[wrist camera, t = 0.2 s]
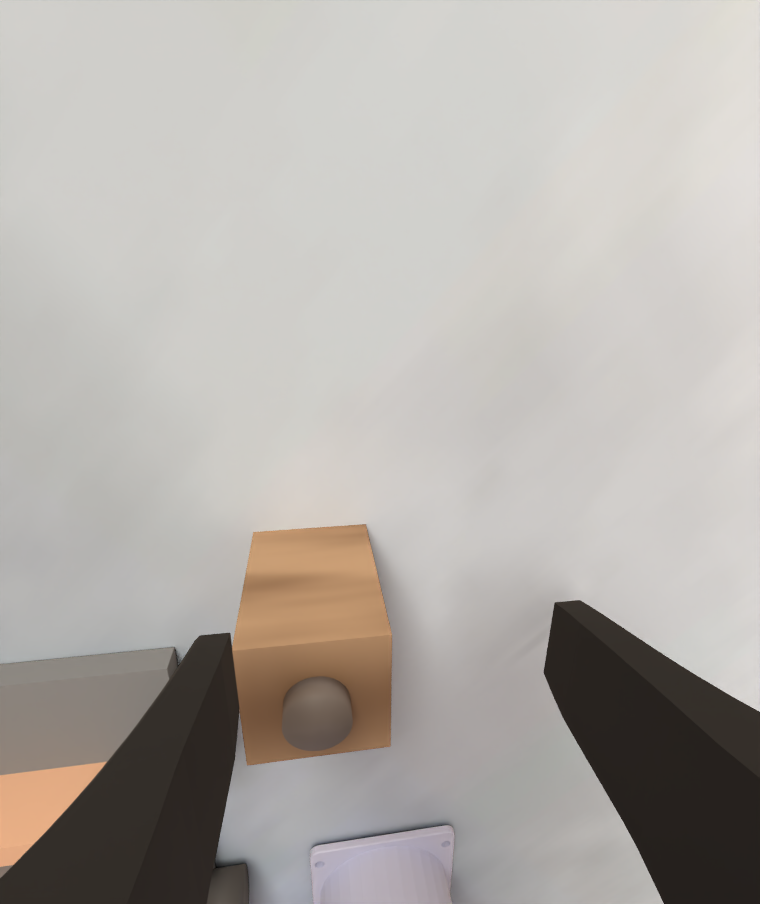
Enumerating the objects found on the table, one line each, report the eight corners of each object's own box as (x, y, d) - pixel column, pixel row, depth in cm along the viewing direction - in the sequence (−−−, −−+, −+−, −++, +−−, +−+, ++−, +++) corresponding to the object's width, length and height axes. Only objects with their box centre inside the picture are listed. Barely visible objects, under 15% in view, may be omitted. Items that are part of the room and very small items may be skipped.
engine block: (366, 613, 22) (394, 770, 15) (263, 623, 21) (244, 791, 14) (365, 524, 20) (396, 655, 13) (253, 531, 20) (227, 673, 13)
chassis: (251, 897, 28) (243, 1001, 24) (-49, 948, 26) (-111, 1071, 22) (213, 643, 21) (192, 728, 17) (-193, 683, 19) (-319, 790, 15)
